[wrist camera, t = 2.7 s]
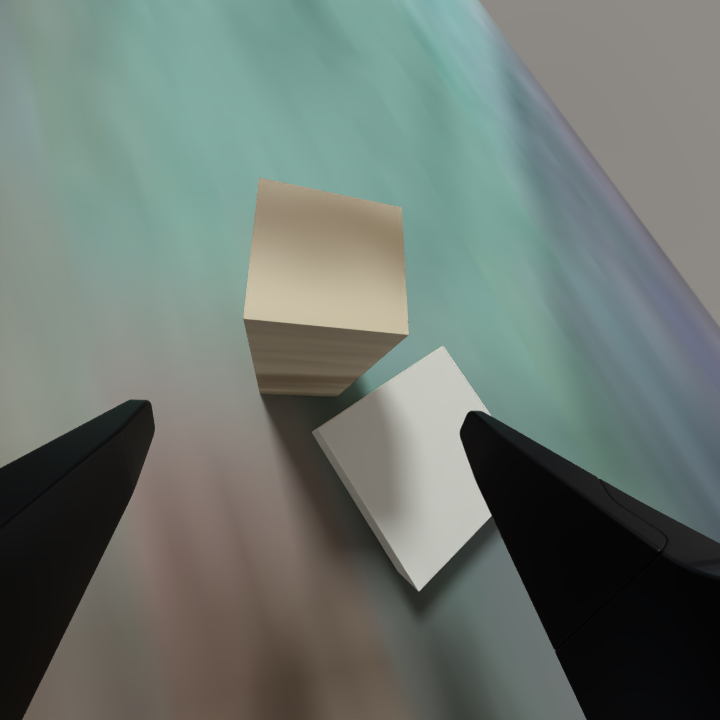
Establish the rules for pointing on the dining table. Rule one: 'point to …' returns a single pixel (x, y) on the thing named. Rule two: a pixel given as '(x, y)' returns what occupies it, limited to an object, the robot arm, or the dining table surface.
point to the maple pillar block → (322, 288)
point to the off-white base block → (411, 464)
